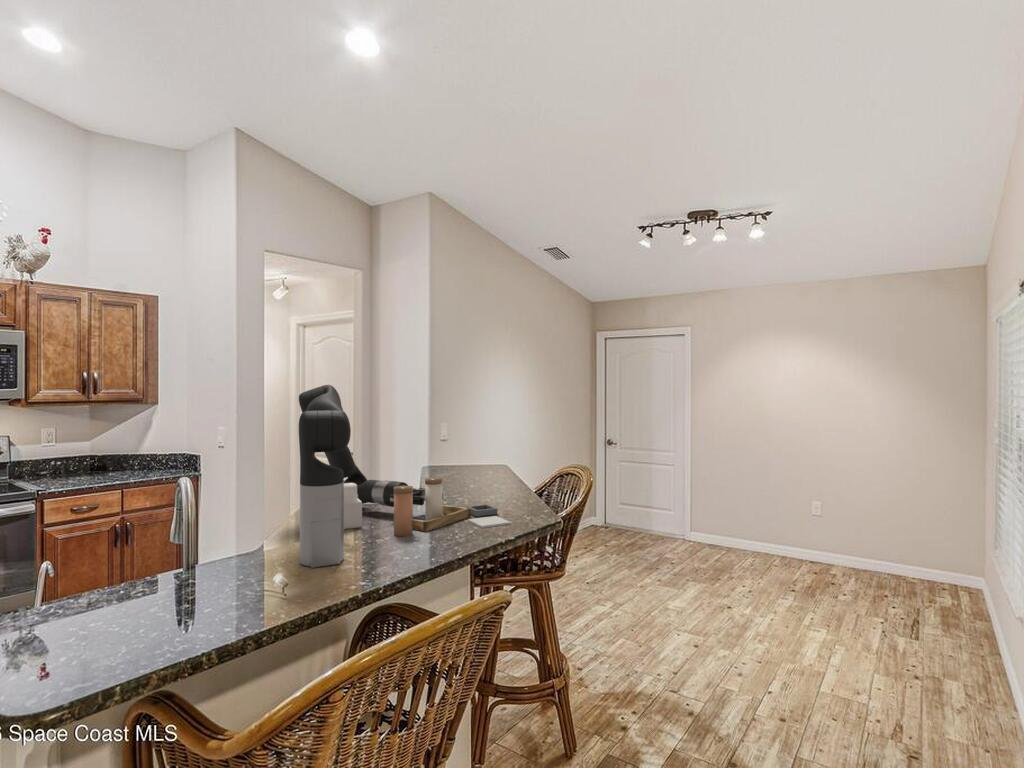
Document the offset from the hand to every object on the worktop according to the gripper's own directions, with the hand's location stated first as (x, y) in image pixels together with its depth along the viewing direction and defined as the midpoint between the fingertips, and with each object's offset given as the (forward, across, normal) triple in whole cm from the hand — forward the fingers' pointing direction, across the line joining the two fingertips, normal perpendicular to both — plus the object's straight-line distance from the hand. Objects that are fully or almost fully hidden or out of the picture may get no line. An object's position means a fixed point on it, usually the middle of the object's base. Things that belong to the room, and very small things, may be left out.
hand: (433, 498), depth 165 cm
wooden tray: (0, 0, +6) cm, 7 cm away
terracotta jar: (+2, -15, +6) cm, 16 cm away
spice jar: (0, 0, +6) cm, 7 cm away
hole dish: (+7, +15, +6) cm, 18 cm away
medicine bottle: (-17, -16, +7) cm, 25 cm away
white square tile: (+15, +7, +6) cm, 17 cm away
